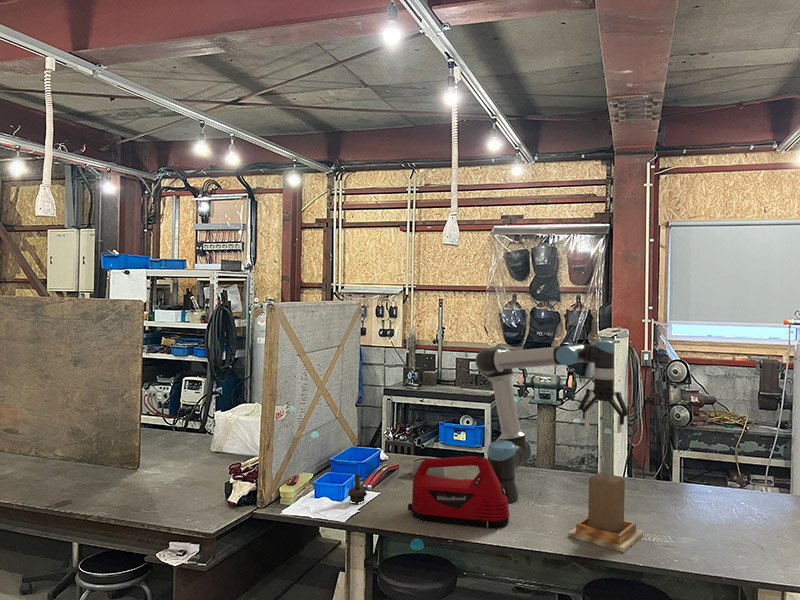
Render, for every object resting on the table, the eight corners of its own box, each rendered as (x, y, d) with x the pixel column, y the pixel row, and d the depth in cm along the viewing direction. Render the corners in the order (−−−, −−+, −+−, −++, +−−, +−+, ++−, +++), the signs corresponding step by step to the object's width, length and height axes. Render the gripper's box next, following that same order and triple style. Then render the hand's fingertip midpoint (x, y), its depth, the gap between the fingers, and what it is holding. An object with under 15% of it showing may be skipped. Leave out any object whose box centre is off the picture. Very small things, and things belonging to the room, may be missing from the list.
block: (624, 531, 217) (625, 477, 217) (613, 539, 210) (615, 483, 210) (598, 524, 224) (599, 471, 224) (586, 531, 216) (587, 477, 216)
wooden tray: (568, 536, 216) (568, 524, 216) (590, 521, 231) (590, 509, 231) (623, 552, 203) (623, 539, 203) (643, 535, 218) (643, 523, 218)
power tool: (413, 506, 245) (414, 445, 245) (511, 517, 234) (512, 453, 234) (403, 519, 229) (404, 455, 229) (507, 532, 219) (508, 464, 219)
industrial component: (368, 501, 249) (369, 472, 249) (362, 506, 243) (363, 477, 242) (348, 498, 252) (348, 470, 252) (341, 504, 245) (342, 475, 245)
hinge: (446, 473, 291) (446, 456, 287) (446, 479, 286) (446, 461, 283) (412, 471, 293) (412, 454, 289) (411, 477, 288) (411, 460, 285)
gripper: (637, 380, 239) (636, 433, 239) (578, 374, 255) (577, 423, 255) (631, 382, 233) (630, 436, 233) (571, 376, 249) (570, 426, 249)
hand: (602, 429), depth 244 cm, fingers open, 13 cm apart
